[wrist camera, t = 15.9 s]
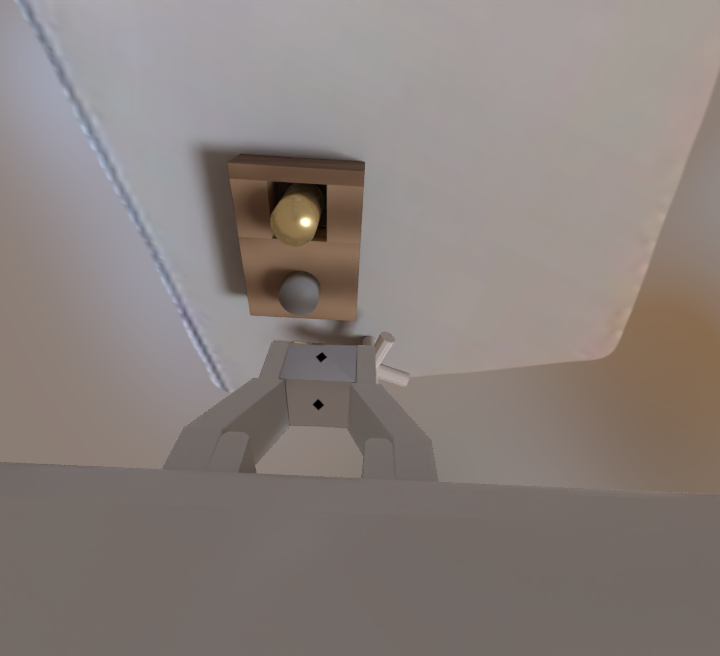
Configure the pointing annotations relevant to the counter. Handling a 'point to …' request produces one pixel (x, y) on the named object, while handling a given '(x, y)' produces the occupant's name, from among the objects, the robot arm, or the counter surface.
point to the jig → (303, 263)
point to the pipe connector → (381, 350)
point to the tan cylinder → (297, 214)
